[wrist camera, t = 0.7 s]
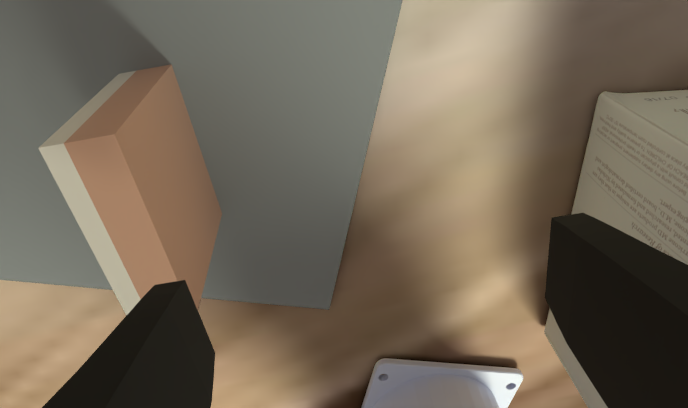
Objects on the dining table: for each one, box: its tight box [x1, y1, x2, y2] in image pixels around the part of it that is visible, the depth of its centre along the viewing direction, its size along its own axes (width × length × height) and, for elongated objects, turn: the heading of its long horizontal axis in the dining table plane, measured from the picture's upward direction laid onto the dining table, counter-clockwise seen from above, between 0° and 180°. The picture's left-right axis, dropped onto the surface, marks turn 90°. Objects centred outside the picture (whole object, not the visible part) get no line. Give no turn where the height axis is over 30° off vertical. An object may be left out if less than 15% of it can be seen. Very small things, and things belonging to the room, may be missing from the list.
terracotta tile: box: [38, 64, 222, 316], centre depth 16 cm, size 2×6×6 cm, turn 9°
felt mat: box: [0, 0, 402, 310], centre depth 18 cm, size 14×15×1 cm
